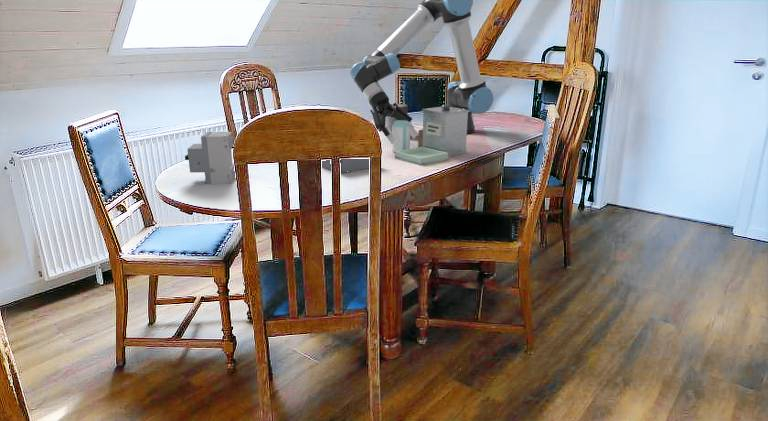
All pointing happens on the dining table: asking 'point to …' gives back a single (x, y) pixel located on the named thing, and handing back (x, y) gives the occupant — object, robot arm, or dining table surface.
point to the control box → (445, 129)
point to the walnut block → (420, 138)
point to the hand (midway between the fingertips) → (405, 139)
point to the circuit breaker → (213, 157)
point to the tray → (421, 155)
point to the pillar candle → (391, 119)
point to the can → (401, 135)
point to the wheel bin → (348, 164)
